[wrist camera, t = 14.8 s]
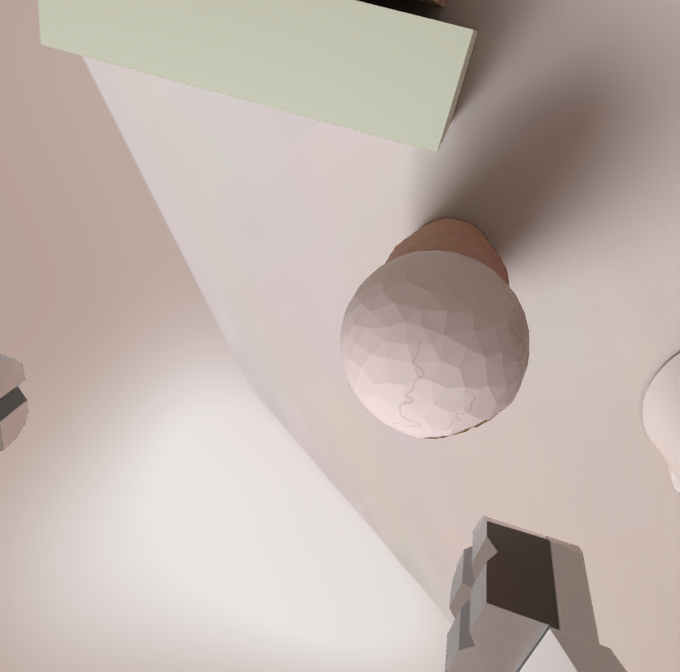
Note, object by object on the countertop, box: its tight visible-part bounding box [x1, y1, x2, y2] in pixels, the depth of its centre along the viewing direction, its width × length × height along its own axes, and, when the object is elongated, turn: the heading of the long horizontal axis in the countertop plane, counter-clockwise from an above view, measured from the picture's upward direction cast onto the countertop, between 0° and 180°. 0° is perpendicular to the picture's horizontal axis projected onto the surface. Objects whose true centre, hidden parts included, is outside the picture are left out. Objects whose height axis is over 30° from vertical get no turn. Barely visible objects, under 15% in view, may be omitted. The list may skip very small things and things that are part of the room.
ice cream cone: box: [341, 218, 529, 439], centre depth 37 cm, size 11×11×20 cm
